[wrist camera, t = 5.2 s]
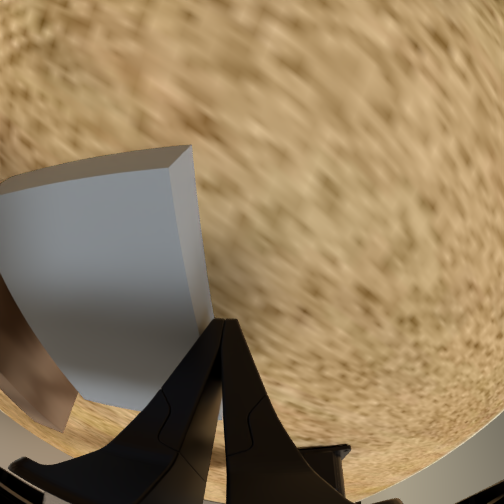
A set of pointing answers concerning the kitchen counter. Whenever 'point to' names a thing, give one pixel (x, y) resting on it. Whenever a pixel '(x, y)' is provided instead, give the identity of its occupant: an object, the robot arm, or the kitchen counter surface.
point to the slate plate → (109, 268)
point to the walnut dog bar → (31, 369)
